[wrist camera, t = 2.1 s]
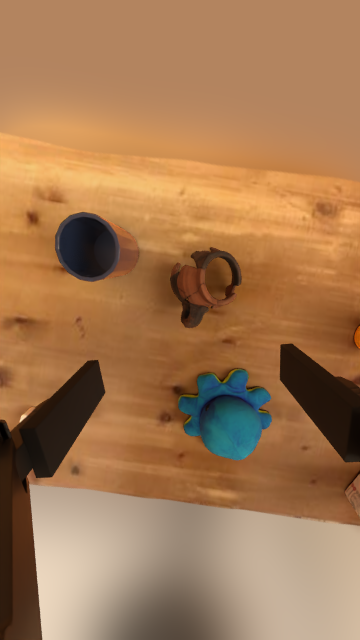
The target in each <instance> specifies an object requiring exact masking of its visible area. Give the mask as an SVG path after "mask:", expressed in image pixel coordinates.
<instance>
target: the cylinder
mask: <svg viewBox="0 0 360 640" xmlns="http://www.w3.org/2000/svg"><path fill="white" fill-rule="evenodd" d="M354 341H355V344H356V345H357V347H358V348H359V349H360V326H359V327H358V328H357V330H356V332H355V335H354Z"/></svg>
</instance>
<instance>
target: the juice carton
mask: <svg viewBox="0 0 360 640" xmlns="http://www.w3.org/2000/svg"><path fill="white" fill-rule="evenodd" d="M345 494H346V496H347V498H348V499H349V501H350V503H351V504H352V506H353V508H354V509H355V511H356V513H357V514H358V516H359V517H360V474H359V475H358V476H357V478H356V479H355V480H354V481H353V482H352V484H351V485H350V486H349V487H348V488H347V489H346V491H345Z"/></svg>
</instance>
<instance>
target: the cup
mask: <svg viewBox="0 0 360 640" xmlns="http://www.w3.org/2000/svg"><path fill="white" fill-rule="evenodd" d="M55 250H56V253H57V256H58V259H59V261H60V263H61V264H62V266H63V267H64V268H65V269H66V270H67V272H68V273H70V274H71V275H73V276H75V277H76V278H78V279H80V280H85V281H91V282H93V281H98V280H103V279H108V278H113V277H118V276H122V275H126V274H128V273H129V272H131V271H132V270H133V269H134V268H135V266H136V264H137V262H138V258H139V249H138V245H137V243H136V241H135V239H134V238H133V236H132V235H131V234H130V233H129V232H127V231H126V230H124V229H122V228H121V227H119V226H117V225H115V224H113V223H111V222H109V221H108V220H106V219H104V218H102V217H100V216H98V215H96V214H92V213H86V212H80V213H77V214H73V215H70V216H69V217H68V218H66V219H65V220H64V221H63V222H62V223H61V224H60V226H59V228H58V231H57V233H56V235H55Z"/></svg>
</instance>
